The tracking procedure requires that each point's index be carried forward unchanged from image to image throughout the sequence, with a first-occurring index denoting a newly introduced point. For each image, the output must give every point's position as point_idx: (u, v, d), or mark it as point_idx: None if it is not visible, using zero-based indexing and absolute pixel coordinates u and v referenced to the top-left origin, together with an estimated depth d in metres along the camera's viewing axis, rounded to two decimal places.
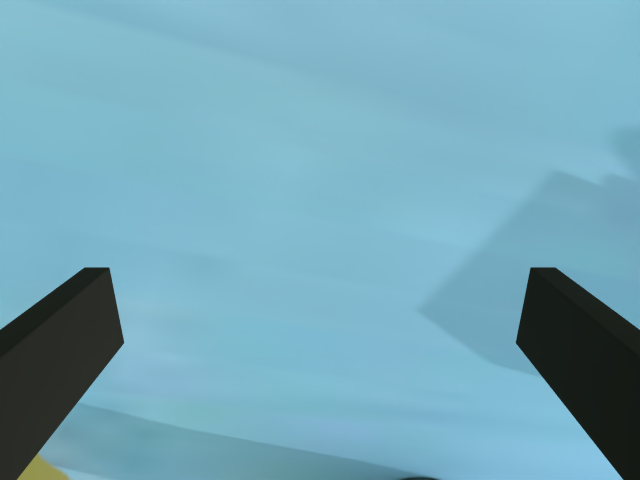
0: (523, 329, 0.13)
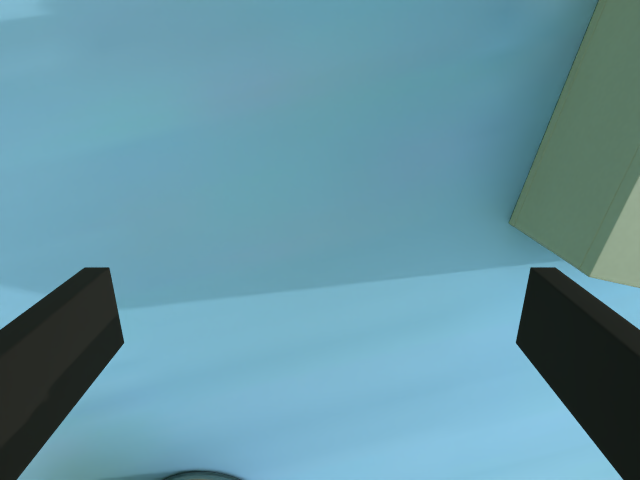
0: (523, 329, 0.13)
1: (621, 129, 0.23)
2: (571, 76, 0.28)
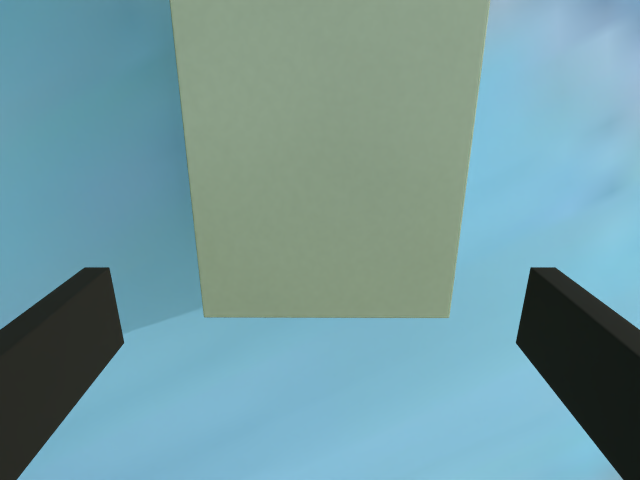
0: (523, 329, 0.13)
1: None
2: None
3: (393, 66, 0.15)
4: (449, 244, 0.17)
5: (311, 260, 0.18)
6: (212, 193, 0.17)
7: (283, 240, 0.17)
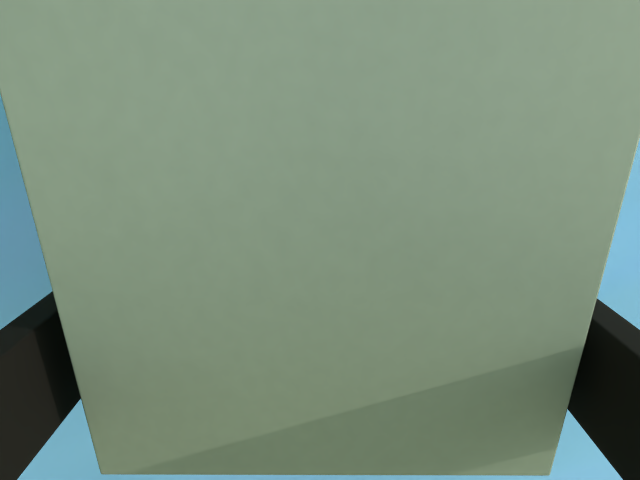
0: None
1: None
2: None
3: None
4: (564, 354, 0.09)
5: (294, 382, 0.09)
6: (88, 263, 0.08)
7: (238, 348, 0.09)
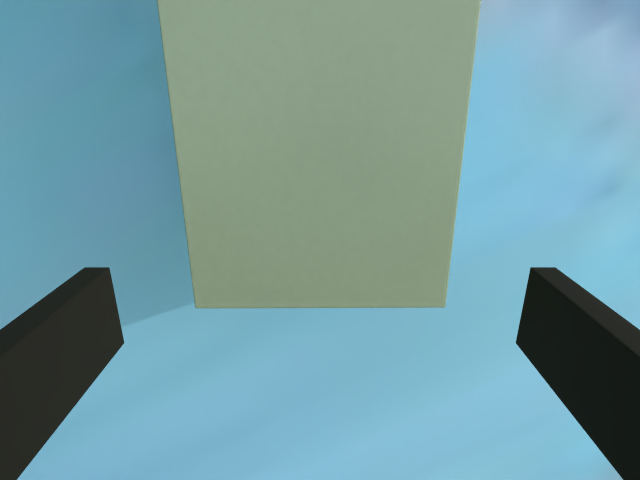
0: (523, 329, 0.13)
1: None
2: None
3: (385, 47, 0.15)
4: (444, 231, 0.17)
5: (303, 249, 0.17)
6: (201, 180, 0.16)
7: (275, 228, 0.17)
